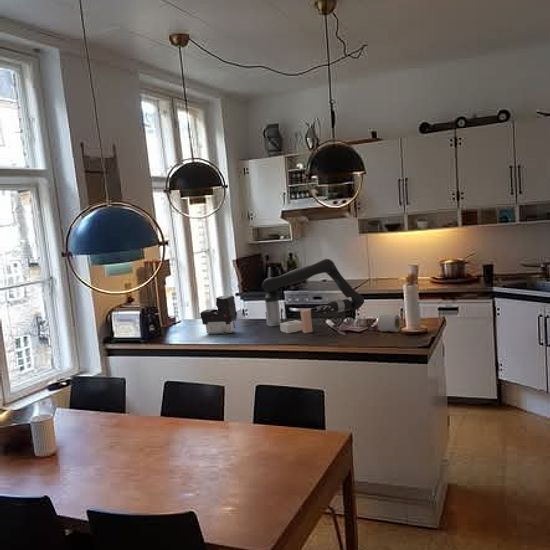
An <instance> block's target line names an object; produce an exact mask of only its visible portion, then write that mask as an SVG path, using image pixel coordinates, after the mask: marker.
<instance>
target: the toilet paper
mask: <svg viewBox="0 0 550 550" xmlns="http://www.w3.org/2000/svg"><path fill="white" fill-rule="evenodd" d="M377 326H378V330H379V331H380V332H387V331H390V332H391V333H393V332H394V333H398V332H399V331H400V330H401V326H402V320H401V316H400V315H398V314H380V315H379V317H378V320H377ZM390 332H389V333H390Z"/></svg>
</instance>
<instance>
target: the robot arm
mask: <svg viewBox="0 0 550 550" xmlns="http://www.w3.org/2000/svg"><path fill="white" fill-rule="evenodd" d="M324 273H325V274H327V275H328V276H329V277H330V278H331V279H332V280H333V282H334V283H335V284H336V286H337V287H338V289H339V291H341V293H342V294H343V296H344V297H345V299H341V300H339V299H338V300H333V301H329V302H328V303H326V304H327V305H323V304H322V305H317V306H314V307H312V308H310V311H311V313H314V312H316V313H317V314H323V313H324V314H328V313H329V314H336V313H341V312H345V311H356V310H359V309H361V307H362V306H363V305H364V304H365V298H364V297H363V296H362V294H360V293H359V292H358V291H356V290H355V289H353V287H352V286H351V284H350V283H349V282H348V281H347V280H346V279H345V278H344V276H343V275H342V274H341V273H340V271H339V269H338V268H337V266H336V264H335V263H334V261H333V260H331V259H329V258H324V259H322V260H319V261H318V262H315V263H313V264H310V265H309V264H308V265H305V266H302V267H298V268H295V269H293V270H290V271H287V272H285V273H284V274H282V275H278V276H276V277H270V276H269V277H267V278H265V279H264V280H263V281H262V284H261V287H262V289H263V290H264V291H265V296H264V301H265V320H266V326H268V327H277V326H280V323H282V322H281V321H282V319H281V312H280V311H281V310H280V302H279V289H280V288H282V287H286V286H290V285H294V284H298V283H301V282H305V281H306V280H307V281H308V279H310V278H311V277H314V276H316V275H320V274H324ZM347 298H348V299H347ZM349 298H351V299H352V300H350V299H349Z"/></svg>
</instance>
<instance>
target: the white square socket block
mask: <svg viewBox="0 0 550 550" xmlns="http://www.w3.org/2000/svg"><path fill="white" fill-rule="evenodd" d="M279 328H280V332H283V333H286V334H290V333H297V332H299V331H300V332H301V331H302V321H301V320H295V319H294V320H291V321H285V322H281V323H280V325H279Z"/></svg>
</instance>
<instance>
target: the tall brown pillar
mask: <svg viewBox="0 0 550 550" xmlns="http://www.w3.org/2000/svg"><path fill="white" fill-rule="evenodd" d="M300 319H301V320H300V321H301V322H302V330H301V331H302V333H304V334H308V333H312V332H314V330H313V323H312V322H313V321H312V320H313V319H312V312H311V309H302V310H300Z"/></svg>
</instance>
